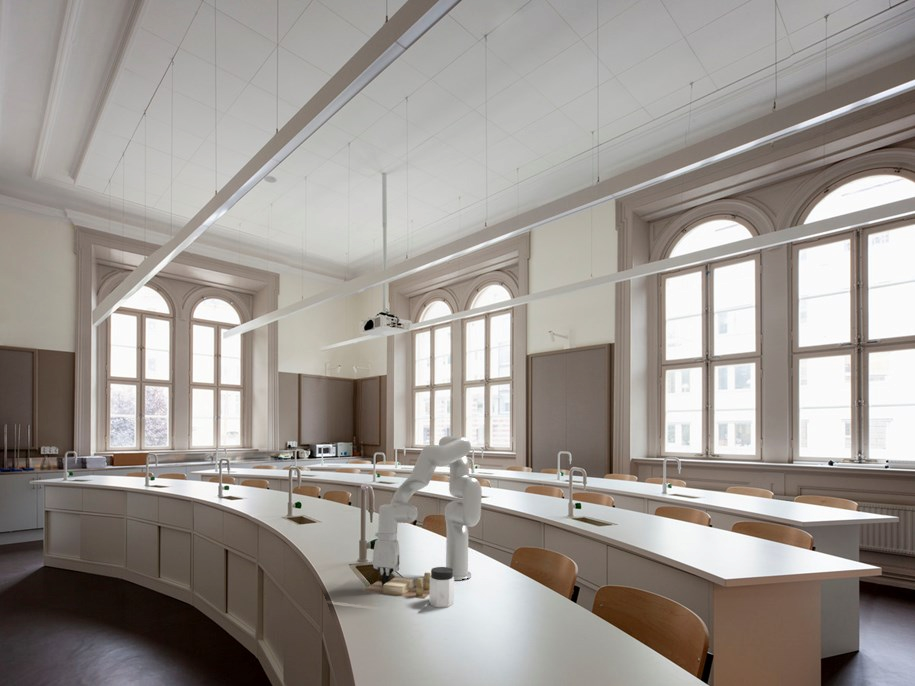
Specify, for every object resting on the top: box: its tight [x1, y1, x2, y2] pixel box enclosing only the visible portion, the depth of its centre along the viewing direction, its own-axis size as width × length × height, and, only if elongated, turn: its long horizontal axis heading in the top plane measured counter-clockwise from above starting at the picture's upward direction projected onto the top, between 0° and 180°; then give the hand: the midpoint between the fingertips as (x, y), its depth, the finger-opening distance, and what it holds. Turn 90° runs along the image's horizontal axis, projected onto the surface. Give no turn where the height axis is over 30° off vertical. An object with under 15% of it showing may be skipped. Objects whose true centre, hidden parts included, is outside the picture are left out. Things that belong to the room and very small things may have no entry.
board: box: [361, 572, 431, 600], centre depth 215 cm, size 14×26×7 cm, turn 72°
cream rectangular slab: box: [383, 576, 416, 596], centre depth 215 cm, size 12×8×3 cm, turn 162°
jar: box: [428, 566, 455, 608], centre depth 202 cm, size 9×8×12 cm
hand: (385, 585), depth 216 cm, fingers closed
